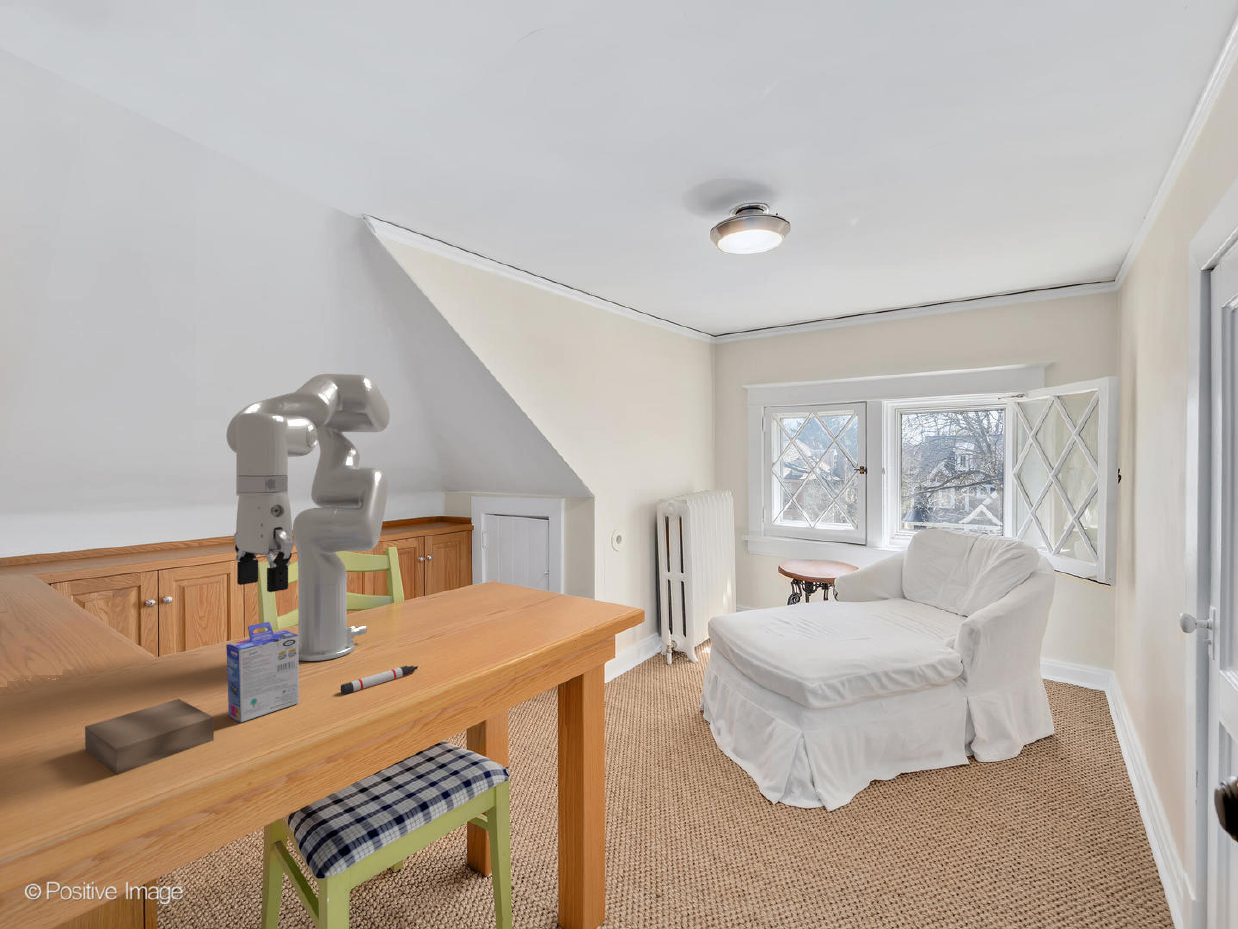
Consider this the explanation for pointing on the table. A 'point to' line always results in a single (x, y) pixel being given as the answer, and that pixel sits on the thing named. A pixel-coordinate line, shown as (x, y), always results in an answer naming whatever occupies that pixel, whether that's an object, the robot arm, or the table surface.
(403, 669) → the marker
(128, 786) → the table surface
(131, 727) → the walnut block
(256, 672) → the ink cartridge box
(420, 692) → the table surface
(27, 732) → the table surface
